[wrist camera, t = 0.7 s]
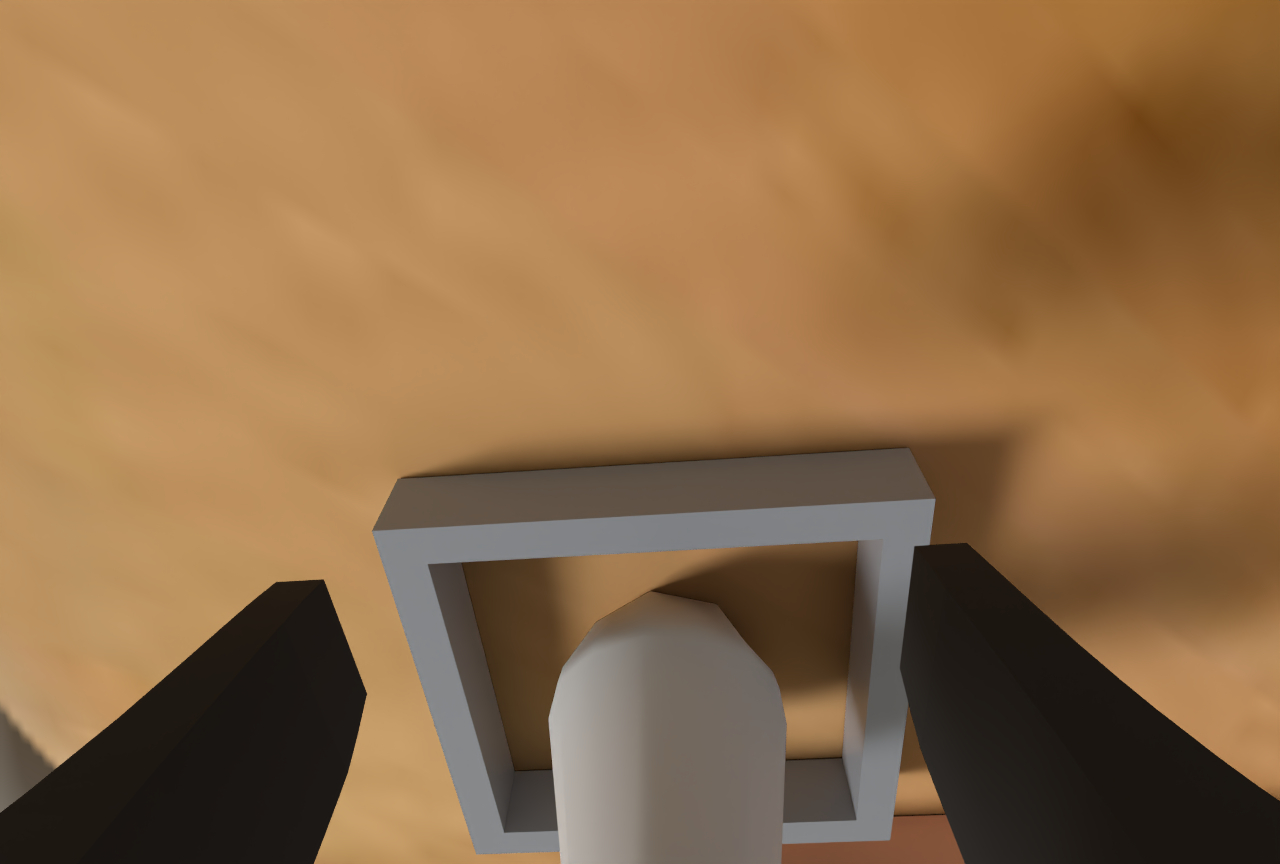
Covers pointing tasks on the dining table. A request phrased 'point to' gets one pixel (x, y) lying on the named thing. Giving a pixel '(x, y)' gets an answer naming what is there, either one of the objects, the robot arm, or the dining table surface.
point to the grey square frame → (650, 522)
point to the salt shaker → (668, 741)
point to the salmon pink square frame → (886, 846)
